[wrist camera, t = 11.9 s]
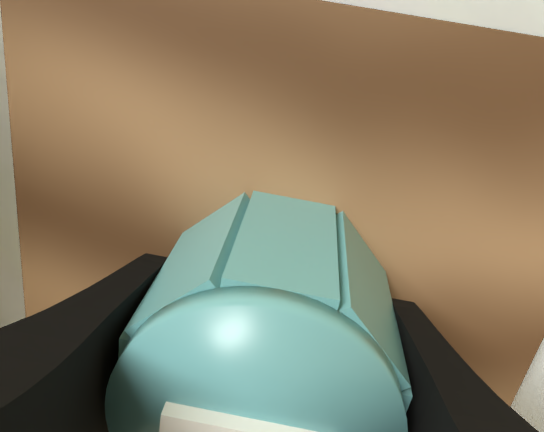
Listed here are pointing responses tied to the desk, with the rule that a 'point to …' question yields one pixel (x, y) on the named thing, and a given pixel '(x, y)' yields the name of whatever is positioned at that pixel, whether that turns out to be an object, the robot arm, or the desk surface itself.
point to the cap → (263, 330)
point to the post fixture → (287, 147)
